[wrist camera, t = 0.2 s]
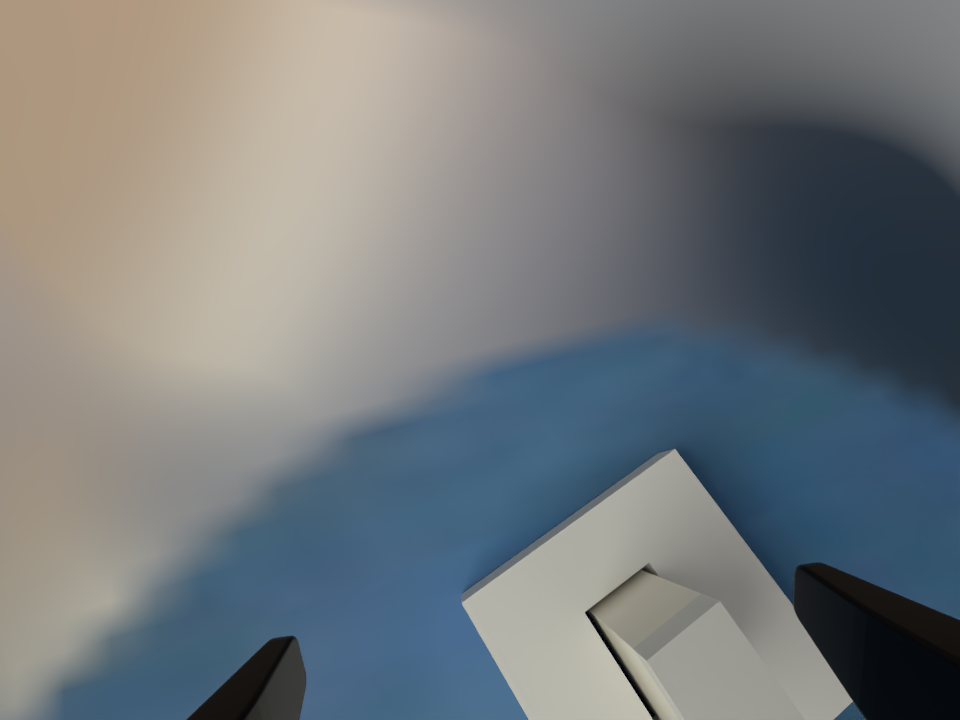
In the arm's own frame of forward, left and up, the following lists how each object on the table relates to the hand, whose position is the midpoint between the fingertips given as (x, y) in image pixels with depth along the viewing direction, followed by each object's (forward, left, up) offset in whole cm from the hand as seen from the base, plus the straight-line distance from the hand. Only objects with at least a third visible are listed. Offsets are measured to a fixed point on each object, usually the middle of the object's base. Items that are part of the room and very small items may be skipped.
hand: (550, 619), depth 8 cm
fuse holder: (-7, -3, -15) cm, 17 cm away
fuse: (-7, -3, -15) cm, 17 cm away
